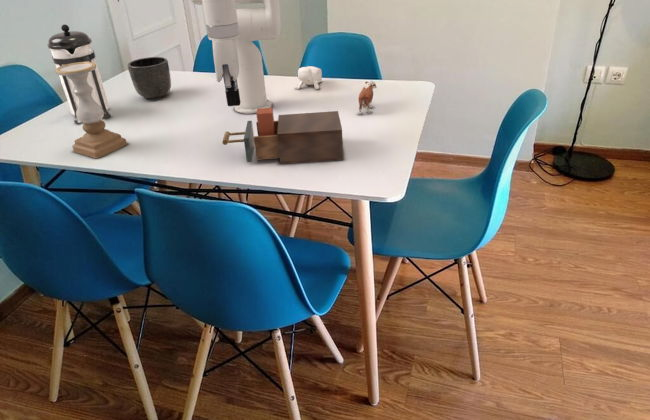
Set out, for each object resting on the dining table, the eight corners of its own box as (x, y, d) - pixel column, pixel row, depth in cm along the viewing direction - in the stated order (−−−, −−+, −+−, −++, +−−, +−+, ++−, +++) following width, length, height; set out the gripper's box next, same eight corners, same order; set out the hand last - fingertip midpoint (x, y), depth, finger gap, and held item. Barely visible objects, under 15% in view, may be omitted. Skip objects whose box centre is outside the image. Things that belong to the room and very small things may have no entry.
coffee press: (127, 110, 172) (102, 19, 157) (91, 126, 160) (61, 30, 144) (91, 105, 179) (64, 17, 163) (54, 120, 167) (21, 28, 151)
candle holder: (96, 158, 139) (69, 74, 126) (73, 151, 144) (44, 69, 131) (128, 144, 146) (105, 63, 134) (104, 138, 152) (80, 59, 139)
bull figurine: (378, 102, 166) (378, 78, 162) (368, 117, 156) (368, 91, 151) (365, 101, 168) (365, 78, 163) (354, 116, 157) (354, 91, 153)
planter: (182, 93, 185) (175, 58, 178) (153, 105, 175) (145, 69, 168) (157, 88, 192) (149, 55, 185) (128, 100, 182) (118, 64, 175)
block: (261, 151, 133) (256, 114, 127) (262, 144, 136) (257, 108, 131) (276, 150, 133) (271, 113, 128) (276, 144, 136) (272, 107, 131)
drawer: (223, 164, 130) (219, 140, 126) (228, 144, 140) (225, 122, 137) (305, 158, 130) (304, 134, 127) (304, 139, 141) (303, 117, 137)
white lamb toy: (302, 90, 191) (291, 87, 177) (303, 67, 190) (291, 63, 175) (323, 90, 189) (314, 88, 175) (324, 67, 188) (315, 63, 173)
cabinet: (280, 164, 130) (277, 134, 126) (281, 143, 142) (278, 114, 137) (343, 160, 130) (342, 129, 126) (339, 139, 142) (337, 110, 137)
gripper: (211, 25, 124) (223, 96, 134) (202, 38, 112) (215, 116, 121) (241, 24, 125) (250, 94, 134) (235, 36, 112) (246, 114, 121)
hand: (234, 104), depth 128 cm, fingers closed
